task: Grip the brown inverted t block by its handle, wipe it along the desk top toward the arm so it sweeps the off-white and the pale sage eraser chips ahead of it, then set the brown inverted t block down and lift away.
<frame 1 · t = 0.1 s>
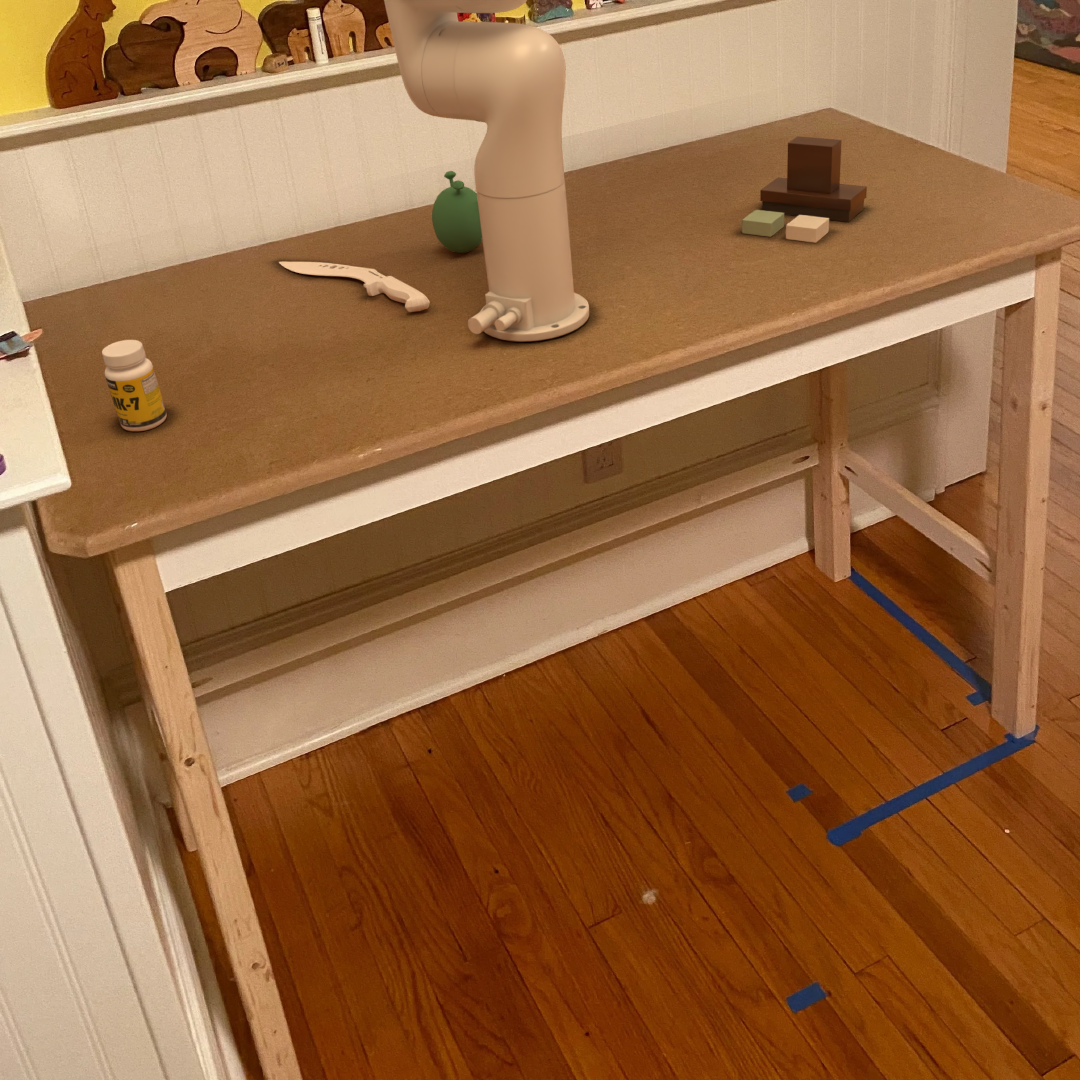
supplement bottle: (145, 423, 126), on the table
alien toy: (466, 252, 159), on the table
knife: (350, 286, 153), on the table
brown inverted t block: (812, 210, 159), on the table
chip a: (807, 235, 152), on the table
chip b: (763, 229, 155), on the table
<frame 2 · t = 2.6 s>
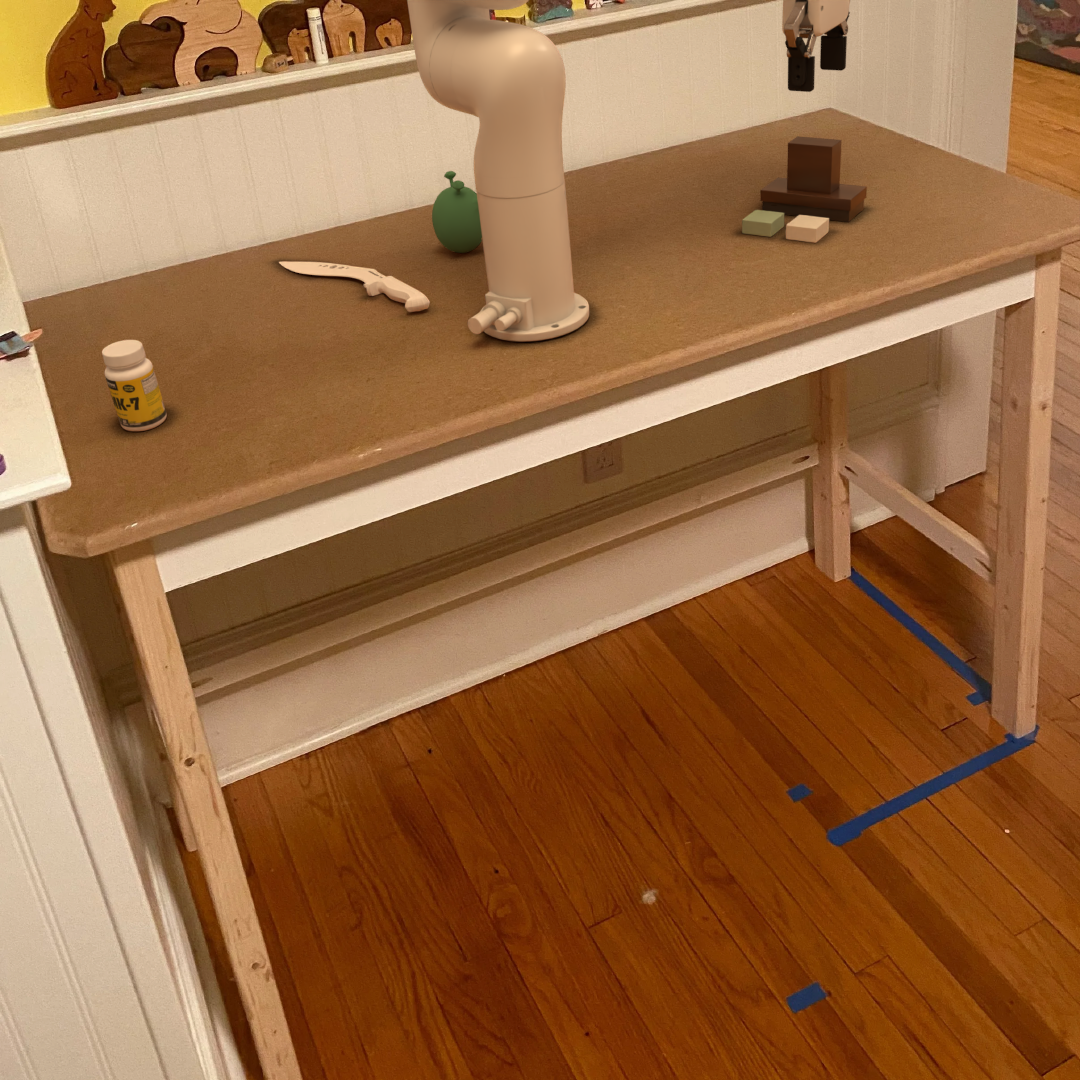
hand: (817, 79, 151), 16 cm above the table, tool pointing down, fingers open, 9 cm apart
nothing on the table moved.
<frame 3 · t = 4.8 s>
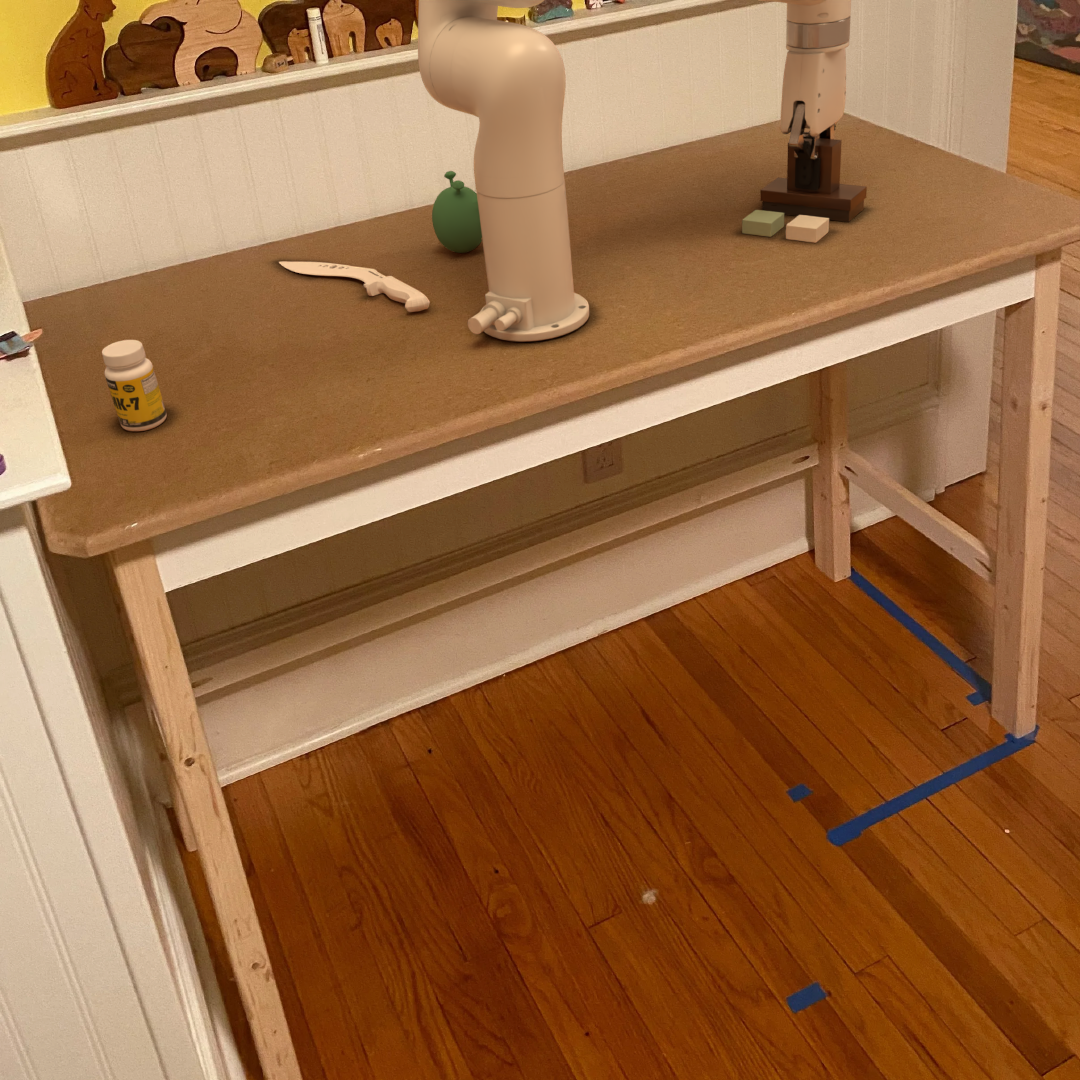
hand: (813, 182, 157), 4 cm above the table, tool pointing down, fingers closed on brown inverted t block, 3 cm apart
brown inverted t block: (812, 210, 159), on the table, touching gripper
everything else where it was.
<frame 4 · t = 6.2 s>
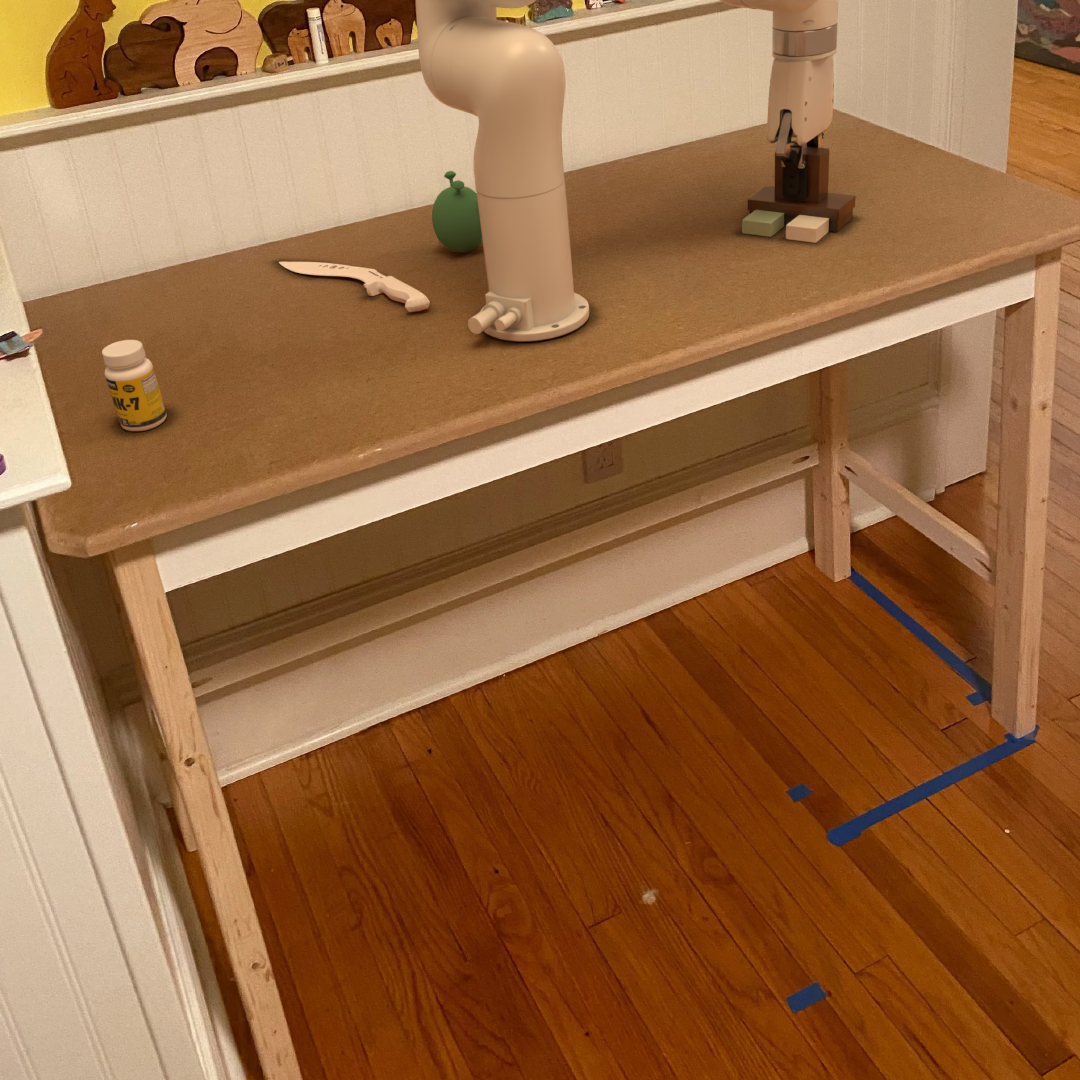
hand: (801, 191, 155), 4 cm above the table, tool pointing down, fingers closed on brown inverted t block, 3 cm apart
brown inverted t block: (800, 220, 157), on the table, touching chip a, chip b, gripper
chip a: (807, 235, 152), on the table, touching brown inverted t block
chip b: (763, 230, 155), on the table, touching brown inverted t block
everything else where it was.
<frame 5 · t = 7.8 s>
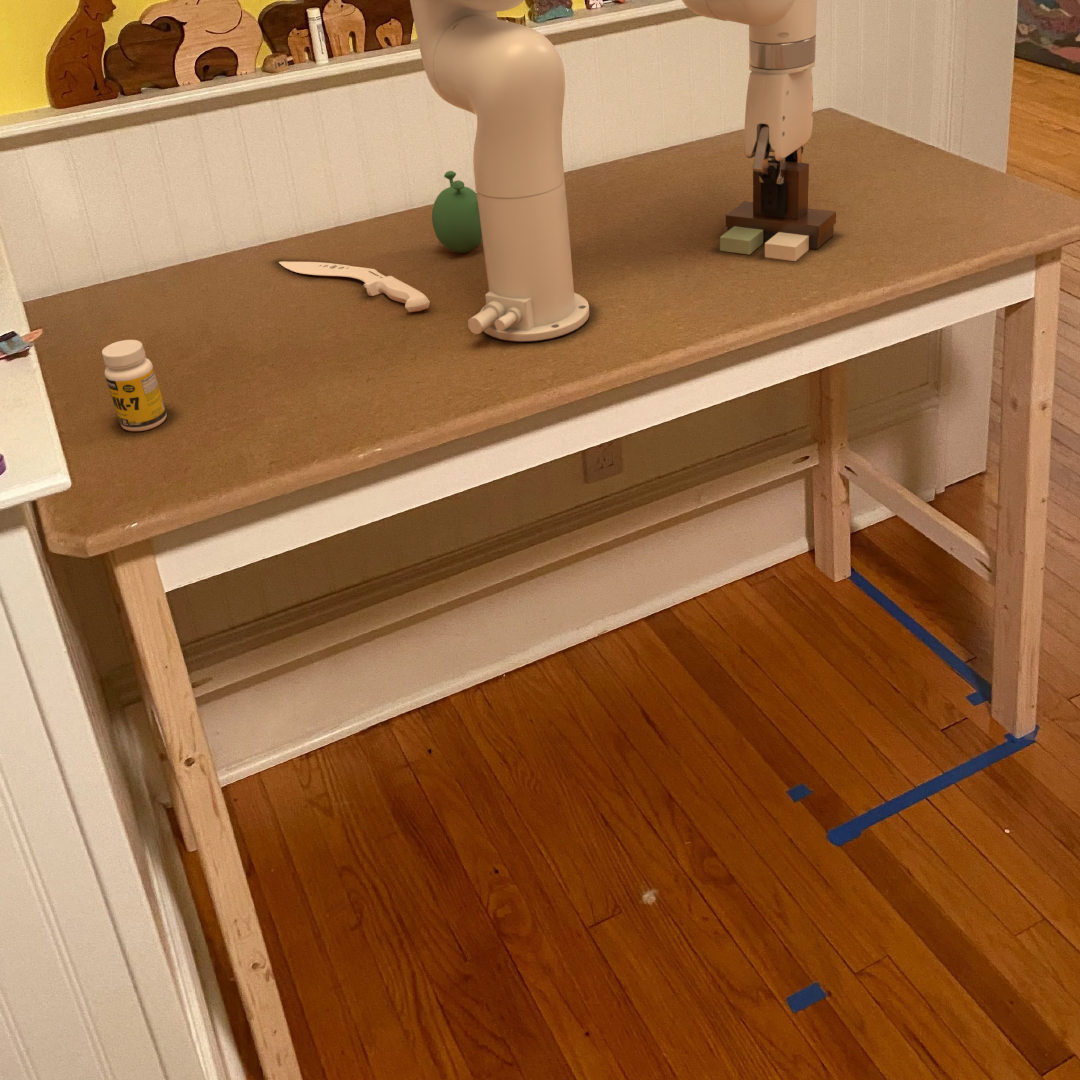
hand: (780, 207, 150), 4 cm above the table, tool pointing down, fingers closed on brown inverted t block, 3 cm apart
brown inverted t block: (780, 236, 153), on the table, touching chip a, gripper
chip a: (786, 253, 148), on the table, touching brown inverted t block
chip b: (741, 247, 151), on the table
everything else where it was.
when the fingers open (4 cm above the table, at t = 9.2 s): brown inverted t block stays where it is, on the table.
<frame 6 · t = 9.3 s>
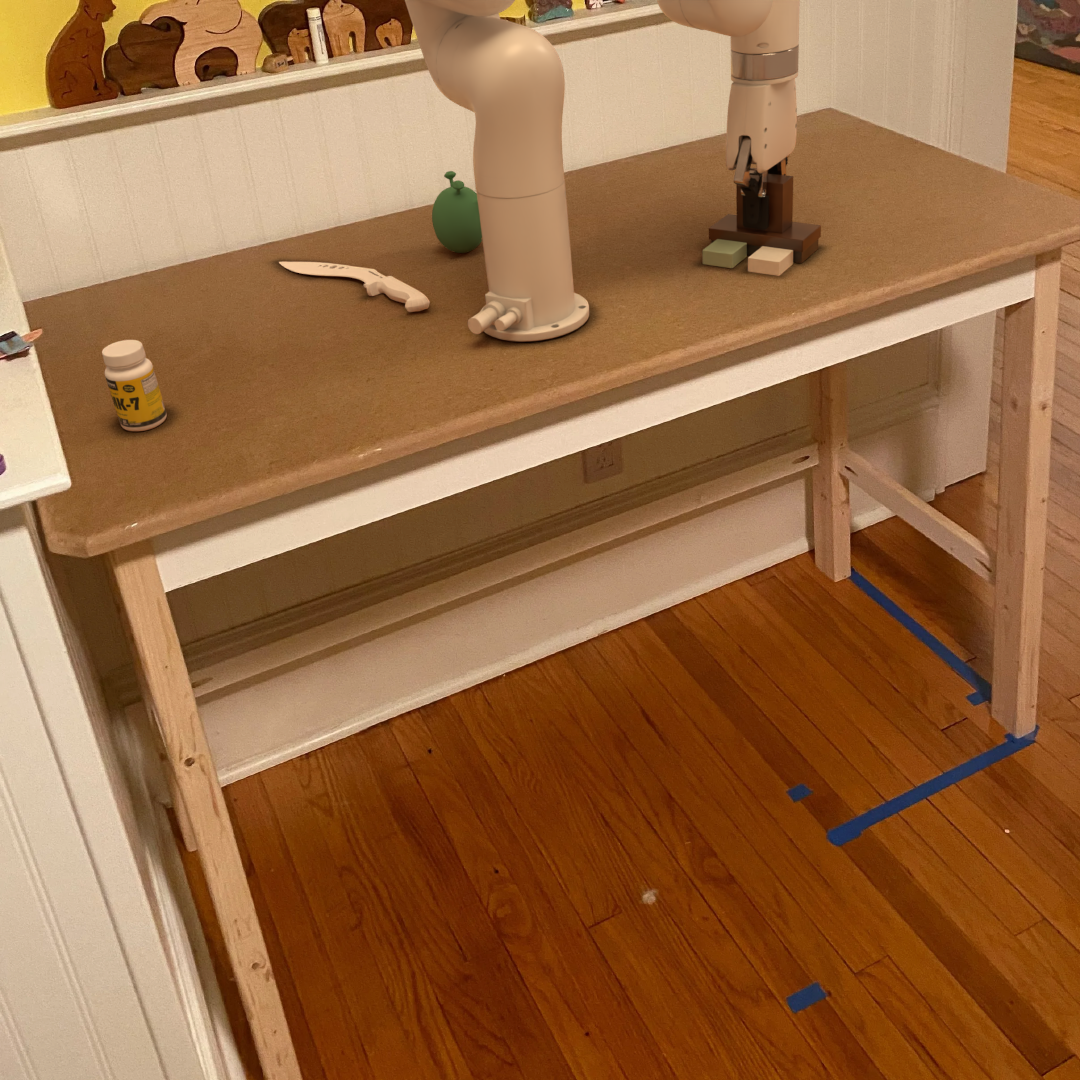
hand: (763, 220, 147), 4 cm above the table, tool pointing down, fingers open, 3 cm apart
brown inverted t block: (764, 250, 150), on the table
chip a: (770, 268, 145), on the table
chip b: (724, 260, 148), on the table
everything else where it was.
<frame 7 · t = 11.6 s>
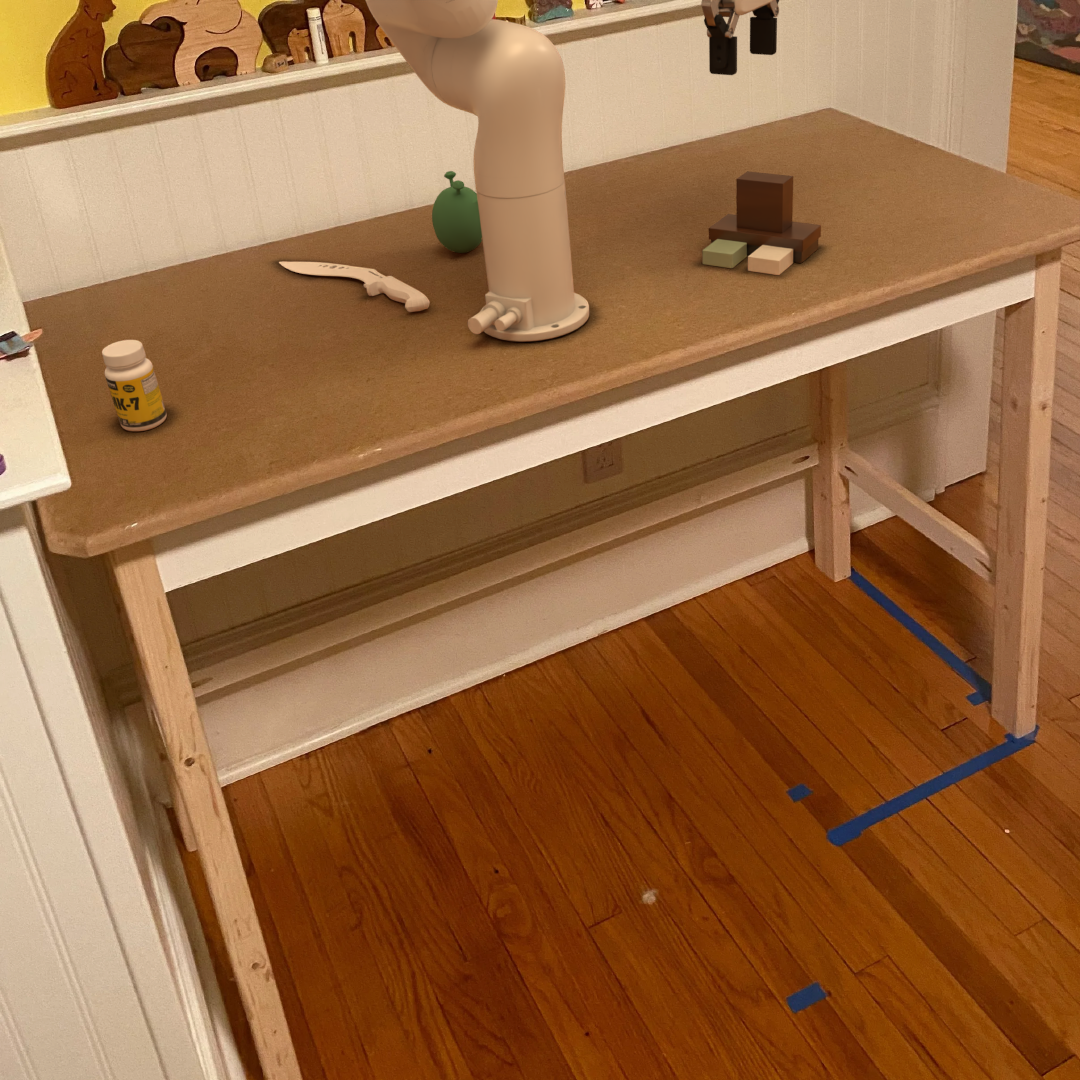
hand: (743, 63, 140), 22 cm above the table, tool pointing down, fingers open, 9 cm apart
nothing on the table moved.
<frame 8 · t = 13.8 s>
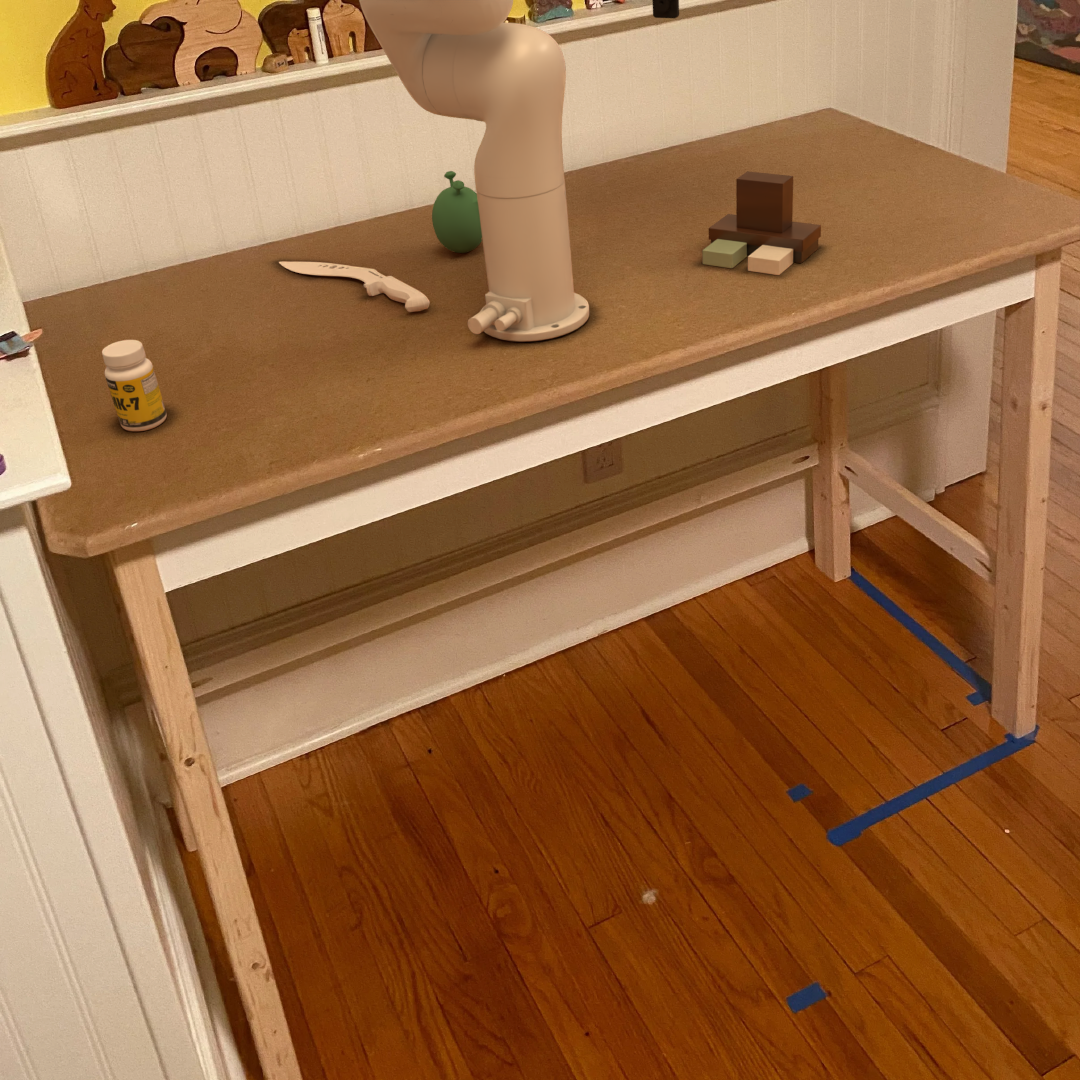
hand: (686, 8, 145), 26 cm above the table, tool pointing down, fingers open, 9 cm apart
nothing on the table moved.
at the end: chip a inside the target area (3.5 cm from its centre), on the table; chip b inside the target area (3.3 cm from its centre), on the table; brown inverted t block tilted 0° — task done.
